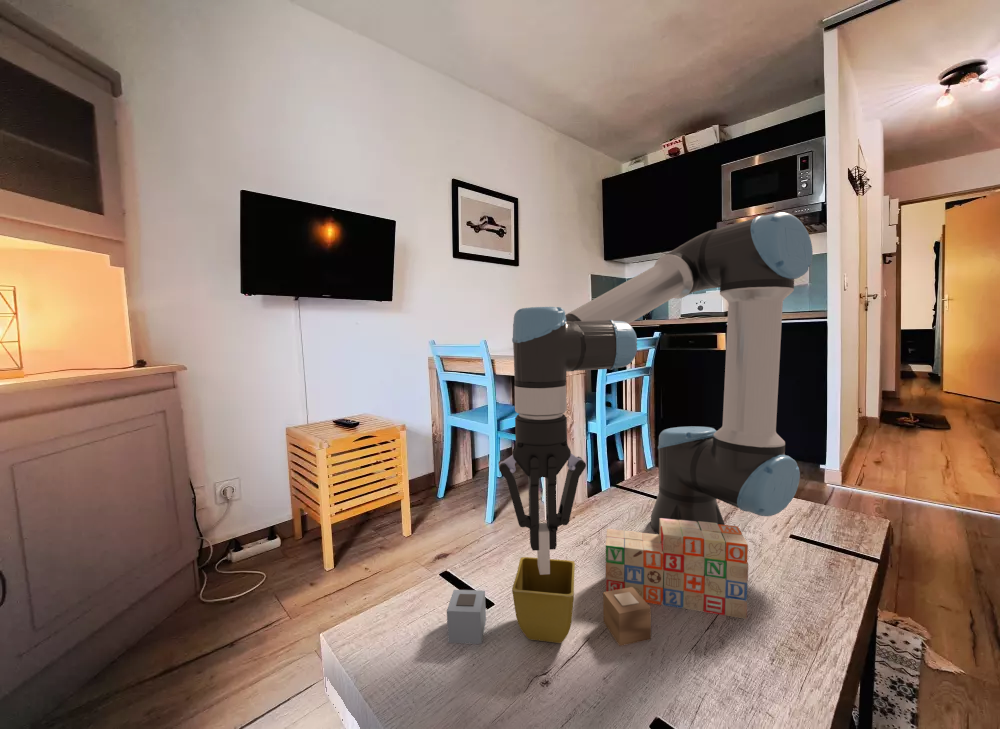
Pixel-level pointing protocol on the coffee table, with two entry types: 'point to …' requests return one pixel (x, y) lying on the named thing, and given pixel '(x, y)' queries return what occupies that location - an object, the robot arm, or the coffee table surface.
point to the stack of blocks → (682, 566)
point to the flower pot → (544, 599)
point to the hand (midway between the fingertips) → (543, 569)
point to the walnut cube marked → (627, 616)
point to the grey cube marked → (466, 616)
